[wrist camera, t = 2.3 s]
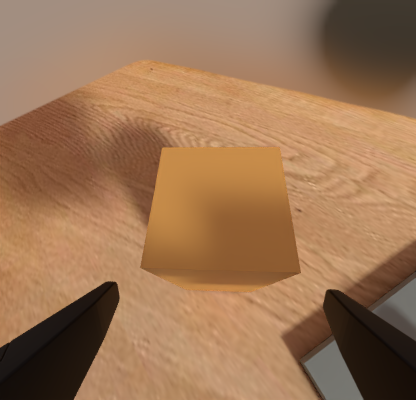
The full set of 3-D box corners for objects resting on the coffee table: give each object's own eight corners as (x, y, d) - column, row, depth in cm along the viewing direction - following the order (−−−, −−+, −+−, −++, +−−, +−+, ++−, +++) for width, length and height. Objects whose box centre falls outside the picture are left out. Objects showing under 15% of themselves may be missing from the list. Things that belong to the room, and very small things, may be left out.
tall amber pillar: (250, 292, 18) (300, 272, 7) (186, 289, 18) (140, 267, 7) (246, 230, 20) (279, 147, 9) (191, 229, 20) (162, 147, 10)
